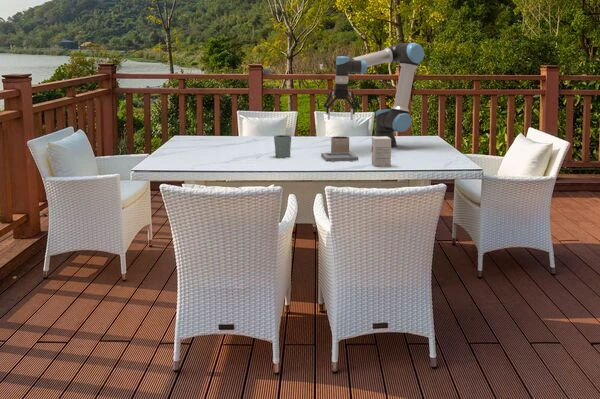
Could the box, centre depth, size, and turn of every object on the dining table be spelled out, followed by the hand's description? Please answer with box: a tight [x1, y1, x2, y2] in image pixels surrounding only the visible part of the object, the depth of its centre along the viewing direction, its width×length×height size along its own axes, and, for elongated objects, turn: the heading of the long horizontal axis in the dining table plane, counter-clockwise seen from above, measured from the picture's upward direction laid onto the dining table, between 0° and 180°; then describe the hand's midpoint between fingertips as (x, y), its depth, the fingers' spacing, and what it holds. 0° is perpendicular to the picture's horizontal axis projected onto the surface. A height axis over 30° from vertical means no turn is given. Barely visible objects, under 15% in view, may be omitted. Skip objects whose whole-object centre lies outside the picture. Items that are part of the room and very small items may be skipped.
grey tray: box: [320, 151, 359, 163], centre depth 408 cm, size 18×21×2 cm
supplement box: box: [371, 136, 392, 167], centre depth 386 cm, size 9×9×15 cm
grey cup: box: [273, 134, 292, 159], centre depth 416 cm, size 10×10×12 cm
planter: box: [330, 135, 350, 153], centre depth 427 cm, size 11×11×10 cm
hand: (340, 119), depth 425 cm, fingers open, 13 cm apart
